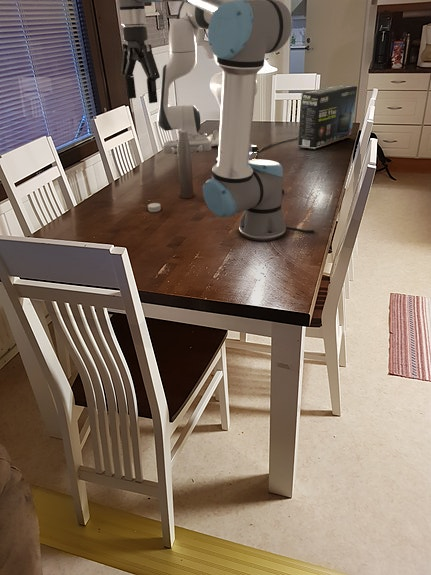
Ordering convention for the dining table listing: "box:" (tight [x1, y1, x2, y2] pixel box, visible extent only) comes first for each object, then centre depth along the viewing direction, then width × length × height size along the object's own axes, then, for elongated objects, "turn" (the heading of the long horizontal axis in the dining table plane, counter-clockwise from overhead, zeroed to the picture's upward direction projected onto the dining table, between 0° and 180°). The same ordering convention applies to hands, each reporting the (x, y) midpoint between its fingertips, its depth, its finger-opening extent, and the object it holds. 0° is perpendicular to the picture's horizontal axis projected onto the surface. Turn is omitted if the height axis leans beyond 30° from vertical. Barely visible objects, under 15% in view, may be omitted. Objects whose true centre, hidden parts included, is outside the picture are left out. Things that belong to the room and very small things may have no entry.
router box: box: [297, 84, 358, 151], centre depth 238 cm, size 36×11×27 cm, turn 134°
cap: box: [147, 202, 162, 213], centre depth 170 cm, size 4×4×2 cm
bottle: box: [177, 129, 194, 199], centre depth 175 cm, size 5×5×25 cm
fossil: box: [208, 129, 220, 148], centre depth 250 cm, size 18×11×15 cm
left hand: (186, 151), depth 186 cm, fingers open, 8 cm apart
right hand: (142, 100), depth 151 cm, fingers open, 13 cm apart
